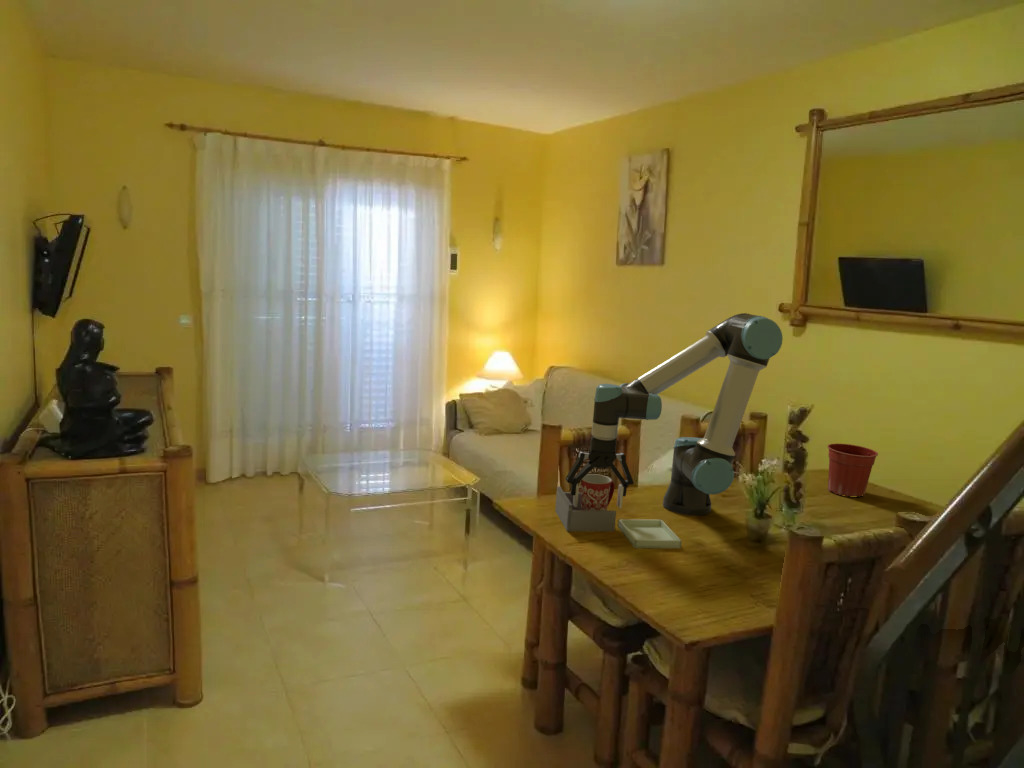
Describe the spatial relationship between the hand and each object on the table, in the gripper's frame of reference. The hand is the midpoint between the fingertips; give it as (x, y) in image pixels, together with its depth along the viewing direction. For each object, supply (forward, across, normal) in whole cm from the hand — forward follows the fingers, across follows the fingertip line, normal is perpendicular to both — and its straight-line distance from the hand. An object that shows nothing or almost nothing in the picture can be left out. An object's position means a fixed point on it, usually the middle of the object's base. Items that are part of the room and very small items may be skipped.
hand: (597, 506), depth 217 cm
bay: (+5, +4, 0) cm, 6 cm away
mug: (+5, 0, 0) cm, 5 cm away
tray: (+4, -12, +12) cm, 18 cm away
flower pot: (+3, -100, -29) cm, 105 cm away
